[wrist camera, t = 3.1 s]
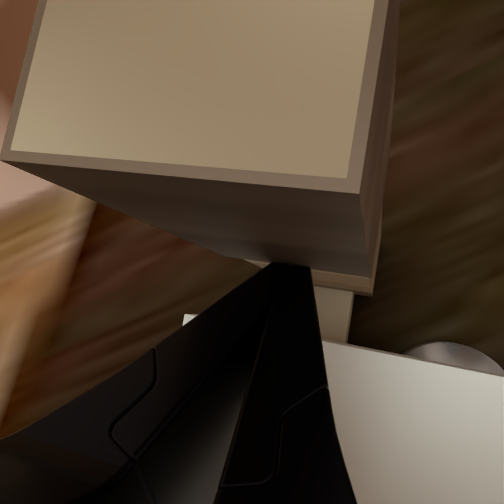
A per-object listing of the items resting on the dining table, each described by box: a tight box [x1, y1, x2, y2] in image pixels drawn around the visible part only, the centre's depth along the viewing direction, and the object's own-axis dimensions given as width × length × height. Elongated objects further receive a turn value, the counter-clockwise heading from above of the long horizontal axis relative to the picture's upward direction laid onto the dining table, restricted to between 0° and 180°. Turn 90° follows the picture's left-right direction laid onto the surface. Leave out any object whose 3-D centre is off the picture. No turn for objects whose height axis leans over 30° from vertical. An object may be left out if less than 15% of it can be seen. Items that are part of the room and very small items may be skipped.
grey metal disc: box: [402, 341, 504, 375], centre depth 16 cm, size 4×4×1 cm
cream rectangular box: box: [183, 314, 504, 504], centre depth 15 cm, size 8×14×4 cm, turn 80°
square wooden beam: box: [0, 0, 400, 344], centre depth 10 cm, size 9×9×15 cm
